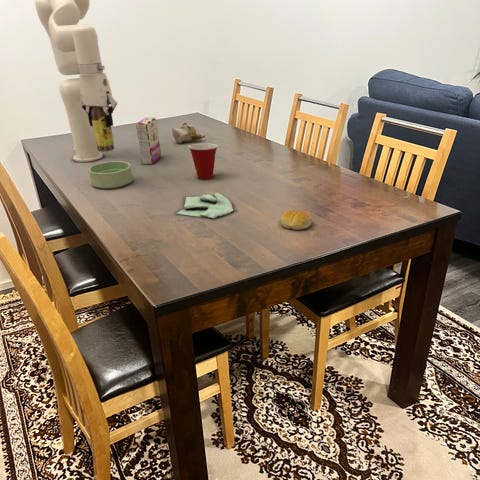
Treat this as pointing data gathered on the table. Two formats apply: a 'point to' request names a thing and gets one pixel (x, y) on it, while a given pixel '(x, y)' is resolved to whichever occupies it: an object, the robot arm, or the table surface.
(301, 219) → the bread roll
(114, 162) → the bowl
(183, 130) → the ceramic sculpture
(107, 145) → the sauce bottle
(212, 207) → the cloth
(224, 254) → the table surface
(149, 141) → the candy bar box
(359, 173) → the table surface
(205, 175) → the plastic cup
